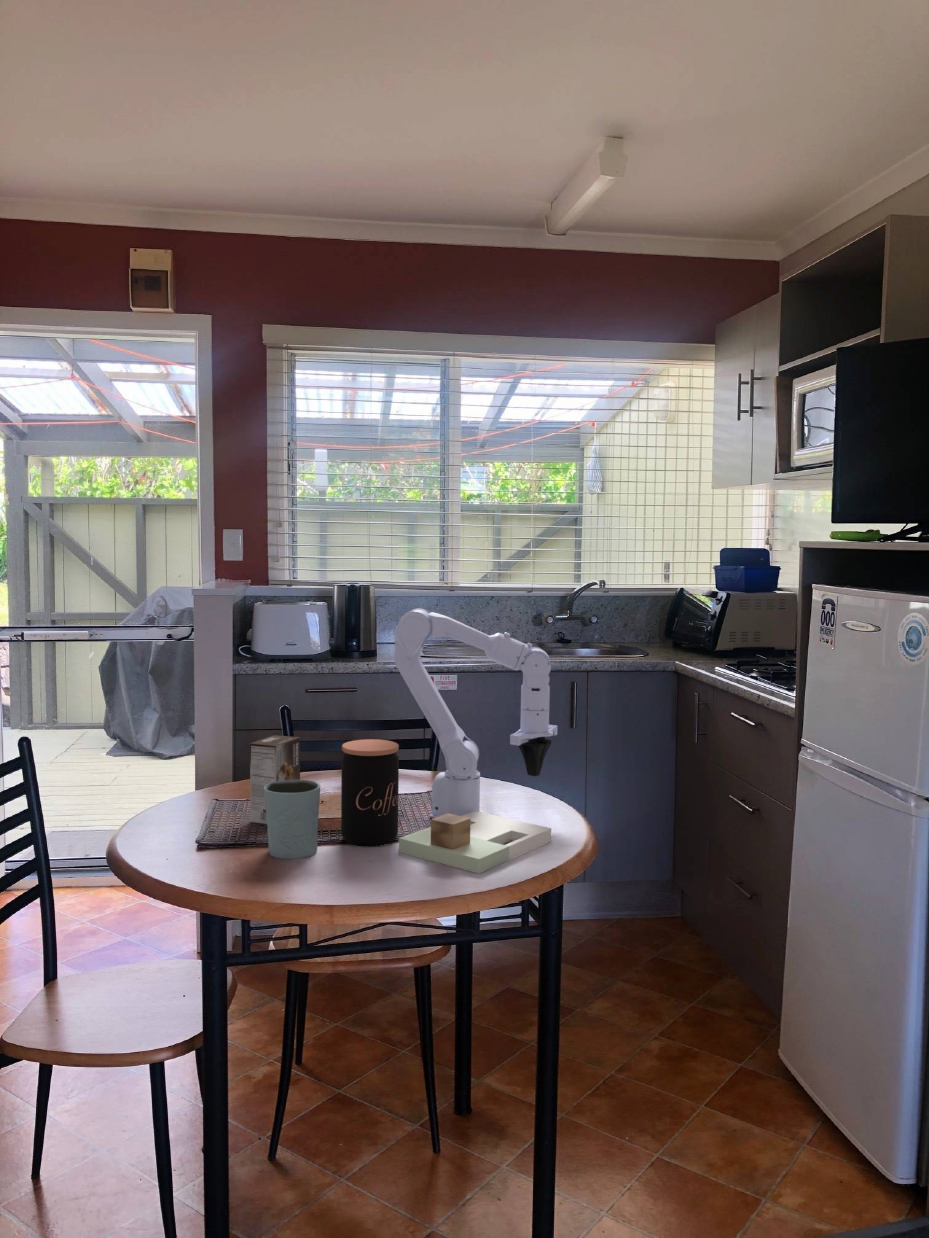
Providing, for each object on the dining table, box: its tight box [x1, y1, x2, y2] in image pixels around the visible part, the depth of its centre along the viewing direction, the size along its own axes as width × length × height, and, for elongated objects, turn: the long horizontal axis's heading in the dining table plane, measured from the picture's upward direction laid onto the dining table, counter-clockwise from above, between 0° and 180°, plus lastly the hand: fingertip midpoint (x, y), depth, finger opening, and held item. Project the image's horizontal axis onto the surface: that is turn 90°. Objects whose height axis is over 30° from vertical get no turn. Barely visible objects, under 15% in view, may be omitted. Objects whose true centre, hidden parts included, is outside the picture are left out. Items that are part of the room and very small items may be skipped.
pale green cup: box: [264, 779, 321, 860], centre depth 168 cm, size 10×10×12 cm
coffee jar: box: [340, 738, 400, 848], centre depth 176 cm, size 11×11×18 cm
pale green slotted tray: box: [398, 811, 552, 875], centre depth 173 cm, size 18×23×2 cm
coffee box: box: [249, 734, 301, 825], centre depth 188 cm, size 9×6×16 cm
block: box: [430, 813, 471, 850], centre depth 166 cm, size 5×5×4 cm
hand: (533, 775), depth 189 cm, fingers closed
